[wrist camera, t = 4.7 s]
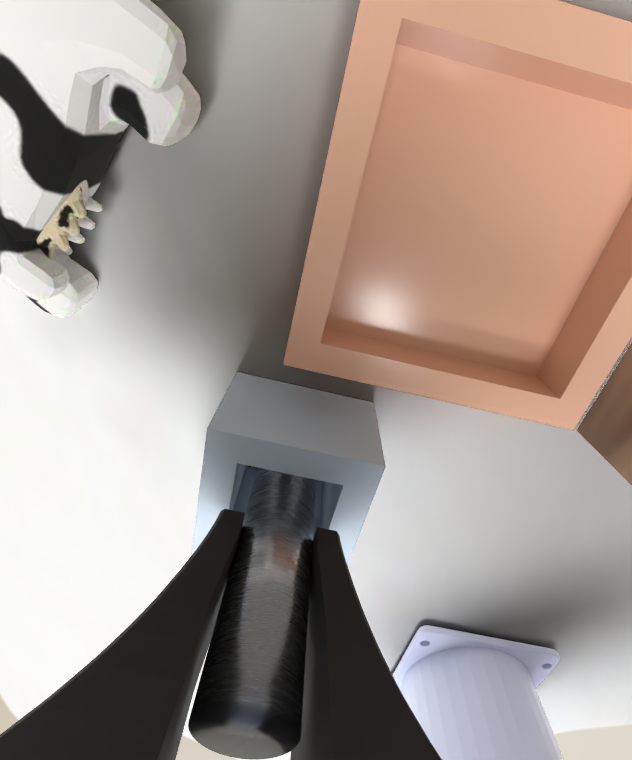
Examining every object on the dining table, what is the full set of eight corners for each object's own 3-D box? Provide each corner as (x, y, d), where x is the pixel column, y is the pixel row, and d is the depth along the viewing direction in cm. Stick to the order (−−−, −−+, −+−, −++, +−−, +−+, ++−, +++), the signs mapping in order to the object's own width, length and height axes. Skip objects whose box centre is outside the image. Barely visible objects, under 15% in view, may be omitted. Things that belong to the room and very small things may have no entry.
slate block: (339, 504, 18) (340, 583, 15) (220, 479, 18) (191, 554, 14) (373, 402, 16) (385, 466, 12) (236, 371, 15) (207, 428, 12)
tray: (542, 399, 15) (573, 430, 13) (289, 340, 15) (282, 364, 13) (713, 91, 11) (796, 71, 9) (364, -10, 10) (371, -56, 8)
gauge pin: (308, 516, 15) (288, 766, 8) (249, 504, 14) (184, 748, 8) (322, 470, 14) (312, 713, 7) (259, 456, 13) (193, 691, 7)
